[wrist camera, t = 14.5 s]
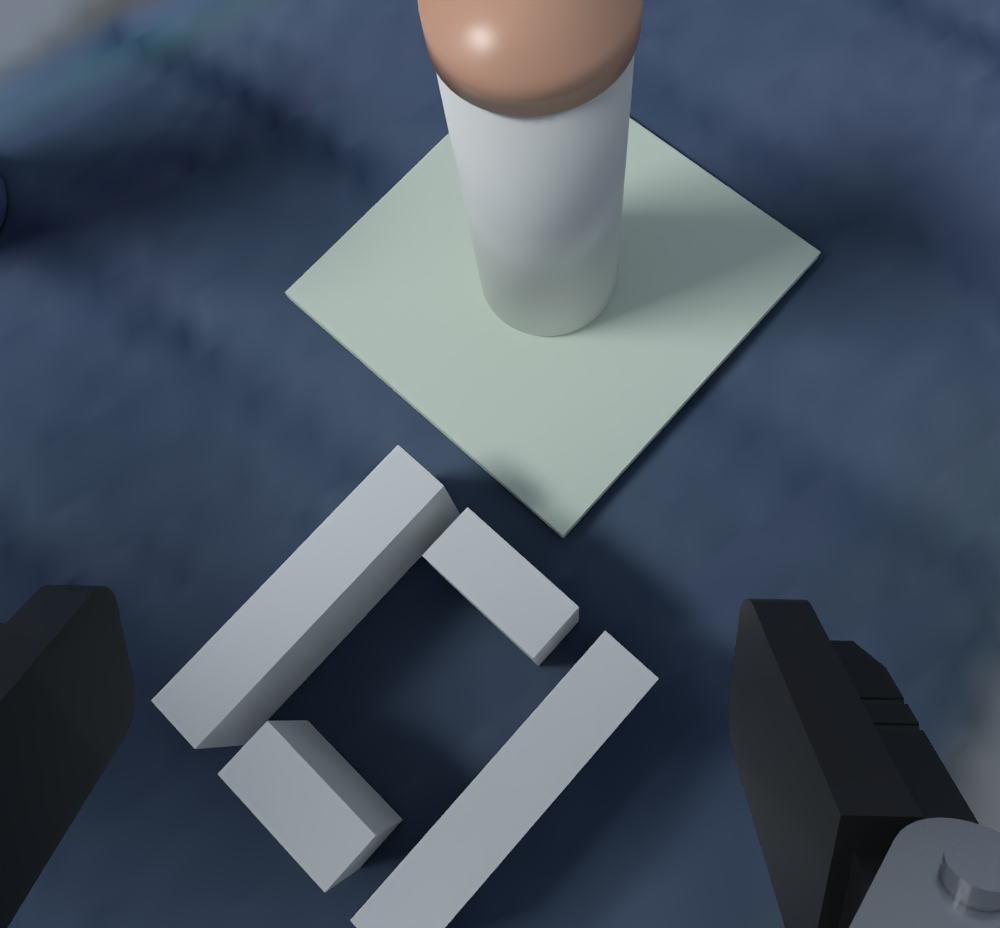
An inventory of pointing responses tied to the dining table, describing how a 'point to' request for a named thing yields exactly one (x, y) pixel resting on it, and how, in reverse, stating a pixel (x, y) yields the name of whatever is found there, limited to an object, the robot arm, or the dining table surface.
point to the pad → (563, 358)
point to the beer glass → (2, 201)
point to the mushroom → (539, 146)
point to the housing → (320, 629)
